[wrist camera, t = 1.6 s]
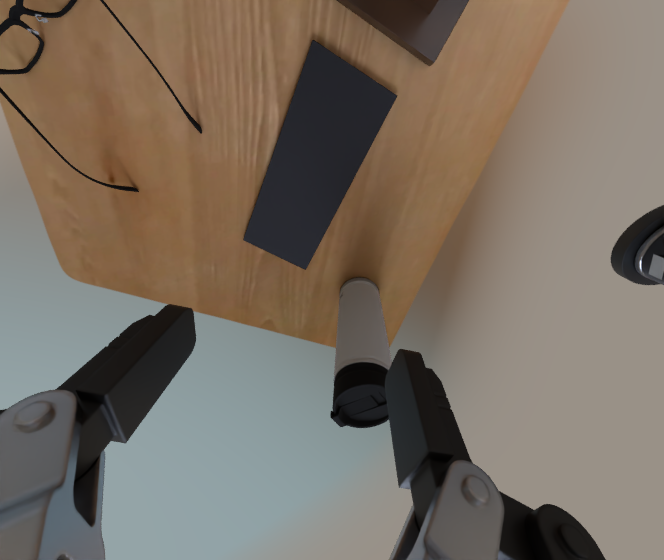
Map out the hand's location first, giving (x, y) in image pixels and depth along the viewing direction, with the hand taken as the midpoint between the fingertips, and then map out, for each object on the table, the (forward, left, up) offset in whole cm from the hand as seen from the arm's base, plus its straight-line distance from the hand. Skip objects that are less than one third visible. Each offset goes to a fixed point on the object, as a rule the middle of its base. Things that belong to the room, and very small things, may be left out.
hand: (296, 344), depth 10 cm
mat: (+4, 0, -27) cm, 27 cm away
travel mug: (-13, +8, -27) cm, 31 cm away
